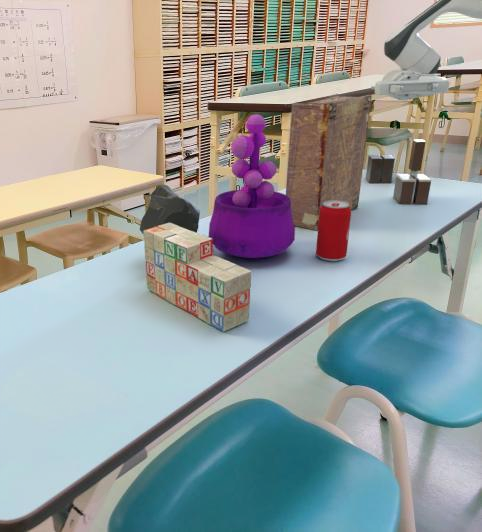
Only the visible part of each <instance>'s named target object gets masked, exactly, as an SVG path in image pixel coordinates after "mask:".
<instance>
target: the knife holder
mask: <svg viewBox="0 0 482 532" xmlns="http://www.w3.org/2000/svg"><path fill="white" fill-rule="evenodd" d="M367 156H368V157H367V163H366V164H367V165H366V171H365V180H366V181H367V182H368V183H369V184H380V183H381V184H392V181H393V176H394V175H393V174H394V169H395V160H396V158H395V157H394V156H392V155H391V154H380V155H379V154H368V155H367Z"/></svg>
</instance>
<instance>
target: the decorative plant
mask: <svg viewBox="0 0 482 532" xmlns="http://www.w3.org/2000/svg"><path fill="white" fill-rule="evenodd" d="M266 126H267V123H266V120H265V118H264V117H263V116H262V115H260V114H252V115H250V116H249V117H248V118H247V120H246V122H245V128H246V130H247V132H249V133H250V134H249V136H248V135H245V134H241V135H240V136H237V137H236V138H234V140H232V143H231V145H230V150H231V153H232V155H233V156H234V157H235V158H237V160H235V161H234V162H233V163H232V165H231V172H232V174H233V175H234V176H235V178H239V179H240V178H243V183H244V185H243V186H241V188H240V189H235V190H228V191H225V192H221V193H219V194H217V196H215V198H214V203H213V210H212V214H211V218H210V221H209V226H208V237H209V238H212V239H213V247H215V248H216V249H217V250H218V251H219V252H221V253H224V254H226V255H230V256H235V257H239V258H245V259H260V258H268V257H272V256H276V255H279V254H281V253H284V252H286V250H287V249H289V248H290V247H291V246H292V244H293V243H294V242H295V240H296V228H295V227H296V226H294V223H293V218H292V210H291V200H290V198H289V197H288V196H286V193H282V192H279V191H275V187H274V185H273V183H271V182H269V180H272V179H273V177H274V176H275V175H276V174H277V170H278V169H277V166H276V164H275V163H274V162H272V161H270V160H266V161H262V162H261V163H260V148H262V147H264V146H265V145H266V143H267V138H266V135H265V133H264V132H263V131H264V130H265V128H266ZM246 159H249V162H248V161H247V160H246Z"/></svg>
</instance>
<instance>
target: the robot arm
mask: <svg viewBox="0 0 482 532" xmlns="http://www.w3.org/2000/svg"><path fill="white" fill-rule="evenodd" d="M447 13H457V14H460V15H463V16H466V17H469V18H472V19H477V20H479V19H480V20H482V0H437V1H435V2H434V3H433V4H431V5H430V6H429V7H428V8H426V9H425V10H424V11H422V12H421V13H420V14H418V15H417V16H415V17H414V18H413V19H412V20H410V21H409V22H408V23H406V24H404V25H403V26H401V27H400V28H397V30H395V31H393V32H392V33H391V34H390V35H389V36H388V37H387V39H386V40H385V41H384V44H383V52H384V56H385V57H387V58H388V59H389V60H391V61H392V62H394V64H396V65H397V66H398V67H399V68H398V69H394V70H391V71H388V72H387V73H386V74H385V75H384V76H383V77H382V79H381V80H377V81H376V82H375V85H371V86H370V89H371V90H374V94H375V95H377V96H388V97H390V98H393V99H395V100H398V101H402V102H403V101H410V100H413V99H416V98H422V97H423V98H424V97H432V96H434V95H437V94H438V95H439V94H446V93H448V92H449V88H450V84H451V83H450V81H451V80H450V79H448V78H446V77H443V76H438V74H437V72H438V70H439V68H440V65H441V59H442V58H441V55H440V54H439V53H438V52H437V51H436V50H435V49H434V48H433V47H432V46H430V44H428V43H427V42H426V41H425V40H424V39H423V38H422V37H421V36H420V34H419V33H420V31H422V30H423V29H425V28H426V27H427V26H429V25H430V24H432V23H433V22H434V21H435V20H437V19H438V18H440V17H441V16H442V15H445V14H447Z"/></svg>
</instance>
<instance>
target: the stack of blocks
mask: <svg viewBox="0 0 482 532" xmlns="http://www.w3.org/2000/svg"><path fill="white" fill-rule="evenodd" d="M143 232H144V235H143V242H144V245H143V249H144V260H145V271H146V275H145V276H146V278H145V279H146V287H147V290H149V291H151V292H152V293H154V294H155V295H156V296H158V297H160V298H162V299H164V300H166V301H167V302H169V303H170V304H173V305H174V306H177V307H178V308H181V309H182V310H184V311H186V312H188V313H190V314H191V315H193V316H195V317H197V318H198V319H200V320H202V321H203V322H205V323H206V324H208V325H210V326H212V327H214V328H215V329H216V330H219V331H220V332H222V333H224V332H226V331H228V330H231V329H232V328H235V327H237V326H239V325H241V324H244V323H246V322H248V321H249V320H250V303H251V287H252V270H250V269H248V268H245V267H243V266H240V265H238V264H236V263H234V262H231V261H229V260H226V259H224V258H222V257H220V256H217V255H214V245H213V239H212V238H209V236H208V235H203V234H201V233H198V232H197V233H196V232H193V231H190V230H187V229H185V228H182V227H179V226H177V225H175V224H172V223H166V224H163V225H159V226H157V227H153V228H150V229H147V230H144V231H143Z"/></svg>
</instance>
